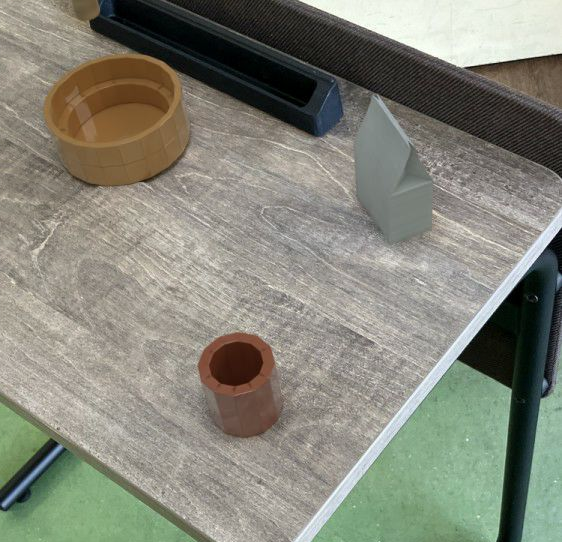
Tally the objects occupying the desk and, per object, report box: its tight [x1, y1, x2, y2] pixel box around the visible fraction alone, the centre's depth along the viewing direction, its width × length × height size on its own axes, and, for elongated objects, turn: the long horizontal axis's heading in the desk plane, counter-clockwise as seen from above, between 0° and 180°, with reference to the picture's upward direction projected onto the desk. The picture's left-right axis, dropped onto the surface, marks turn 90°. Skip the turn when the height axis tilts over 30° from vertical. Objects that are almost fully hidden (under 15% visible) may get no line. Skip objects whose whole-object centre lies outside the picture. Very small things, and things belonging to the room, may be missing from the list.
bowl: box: [42, 52, 191, 187], centre depth 86 cm, size 12×12×5 cm
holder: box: [197, 331, 284, 438], centre depth 68 cm, size 5×5×6 cm
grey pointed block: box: [353, 93, 435, 246], centre depth 75 cm, size 4×7×10 cm, turn 21°
